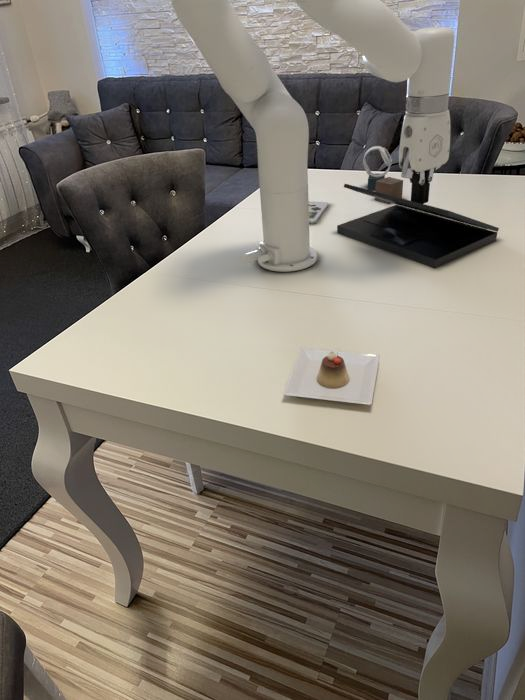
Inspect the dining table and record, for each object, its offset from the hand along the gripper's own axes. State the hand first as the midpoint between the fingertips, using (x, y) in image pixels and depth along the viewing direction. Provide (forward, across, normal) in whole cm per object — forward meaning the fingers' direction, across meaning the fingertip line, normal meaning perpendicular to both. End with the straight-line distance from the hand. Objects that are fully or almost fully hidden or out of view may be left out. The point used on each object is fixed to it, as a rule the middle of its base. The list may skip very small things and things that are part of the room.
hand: (419, 201), depth 109 cm
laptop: (+10, +4, +4) cm, 11 cm away
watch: (+10, +26, +36) cm, 46 cm away
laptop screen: (+4, +5, +4) cm, 8 cm away
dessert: (+10, -46, -24) cm, 53 cm away
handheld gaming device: (+10, -2, +34) cm, 36 cm away
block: (+10, +20, +26) cm, 34 cm away
